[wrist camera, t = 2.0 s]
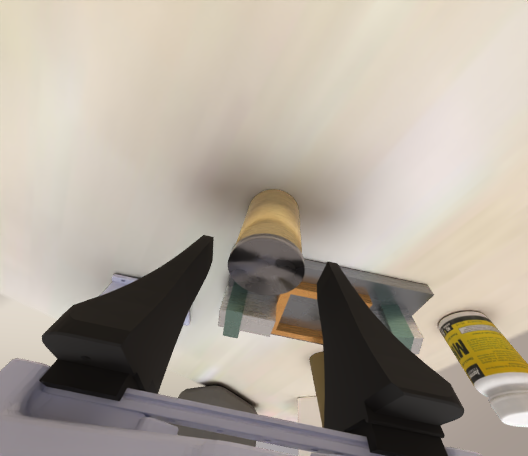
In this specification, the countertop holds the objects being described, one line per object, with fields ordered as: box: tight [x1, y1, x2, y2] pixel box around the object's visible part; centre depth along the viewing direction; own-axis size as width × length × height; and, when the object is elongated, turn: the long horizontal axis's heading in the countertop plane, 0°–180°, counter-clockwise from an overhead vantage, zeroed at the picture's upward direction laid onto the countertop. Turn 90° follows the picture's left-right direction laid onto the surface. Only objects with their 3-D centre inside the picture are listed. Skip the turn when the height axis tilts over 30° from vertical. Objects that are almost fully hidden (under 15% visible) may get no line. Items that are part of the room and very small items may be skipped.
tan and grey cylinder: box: [228, 189, 305, 295], centre depth 15 cm, size 5×5×7 cm
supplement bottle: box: [439, 311, 528, 427], centre depth 20 cm, size 5×5×8 cm
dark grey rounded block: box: [169, 385, 257, 447], centre depth 40 cm, size 16×11×16 cm
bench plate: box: [218, 244, 434, 354], centre depth 22 cm, size 20×13×5 cm, turn 80°
